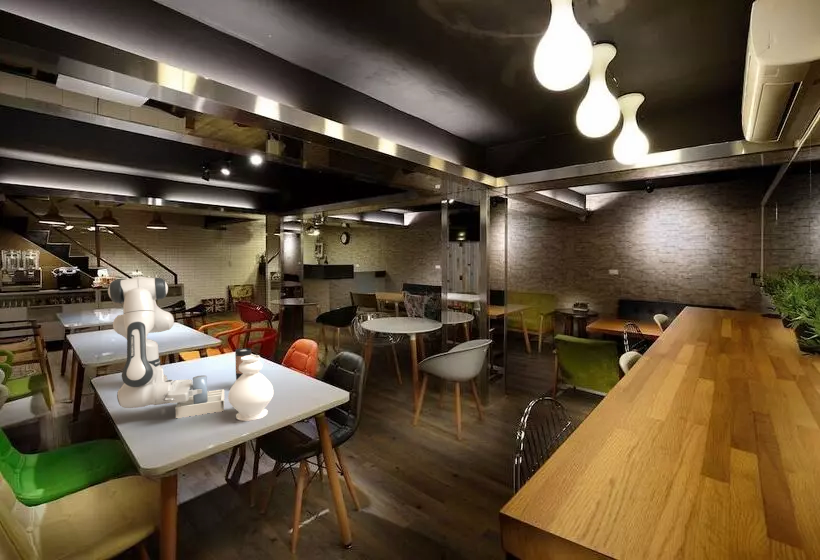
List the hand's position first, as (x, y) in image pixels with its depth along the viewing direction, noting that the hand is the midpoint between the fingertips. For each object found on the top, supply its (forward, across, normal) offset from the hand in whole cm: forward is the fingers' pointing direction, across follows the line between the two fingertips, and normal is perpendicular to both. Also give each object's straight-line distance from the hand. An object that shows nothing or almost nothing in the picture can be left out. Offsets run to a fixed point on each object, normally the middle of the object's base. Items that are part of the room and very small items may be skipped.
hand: (202, 388), depth 165 cm
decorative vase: (+19, -13, +10) cm, 26 cm away
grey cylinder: (-1, 0, +6) cm, 6 cm away
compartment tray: (-1, +4, +10) cm, 11 cm away
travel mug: (+17, +25, +10) cm, 32 cm away
